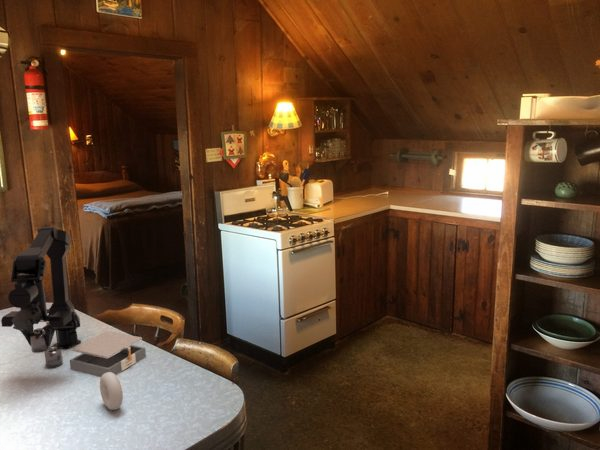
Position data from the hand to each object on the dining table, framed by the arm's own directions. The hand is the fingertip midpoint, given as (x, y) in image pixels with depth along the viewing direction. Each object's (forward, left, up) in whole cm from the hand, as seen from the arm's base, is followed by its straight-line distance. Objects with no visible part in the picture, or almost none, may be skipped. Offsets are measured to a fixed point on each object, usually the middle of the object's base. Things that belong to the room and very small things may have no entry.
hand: (40, 345), depth 155 cm
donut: (+32, -5, -10) cm, 34 cm away
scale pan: (+12, +15, -7) cm, 20 cm away
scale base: (+11, +15, -10) cm, 21 cm away
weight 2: (-4, +7, -10) cm, 13 cm away
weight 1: (0, 0, -1) cm, 1 cm away
